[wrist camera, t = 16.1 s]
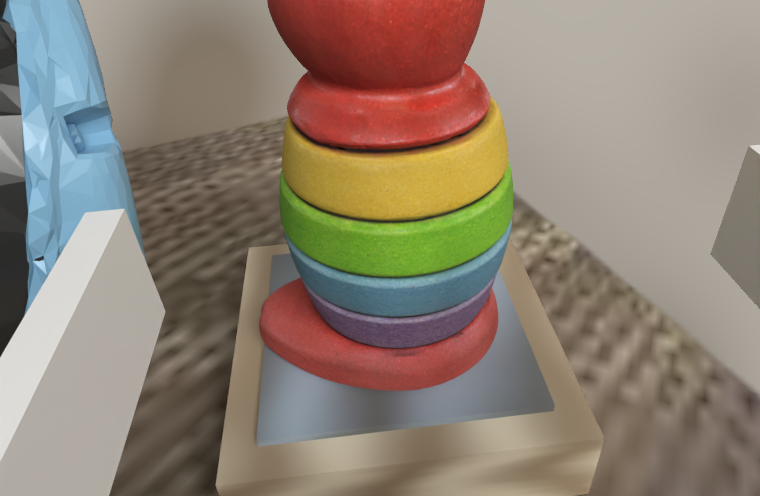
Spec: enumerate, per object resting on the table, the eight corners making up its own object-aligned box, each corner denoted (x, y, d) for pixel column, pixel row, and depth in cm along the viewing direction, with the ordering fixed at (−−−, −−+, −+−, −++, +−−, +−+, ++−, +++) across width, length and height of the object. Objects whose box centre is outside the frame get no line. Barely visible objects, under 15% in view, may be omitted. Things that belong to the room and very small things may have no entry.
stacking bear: (390, 226, 34) (368, -138, 23) (547, 299, 28) (615, -139, 17) (242, 331, 28) (118, -99, 17) (405, 450, 22) (373, -81, 11)
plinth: (237, 538, 24) (213, 480, 22) (261, 298, 36) (247, 242, 33) (588, 493, 25) (606, 432, 22) (497, 272, 37) (502, 215, 34)
